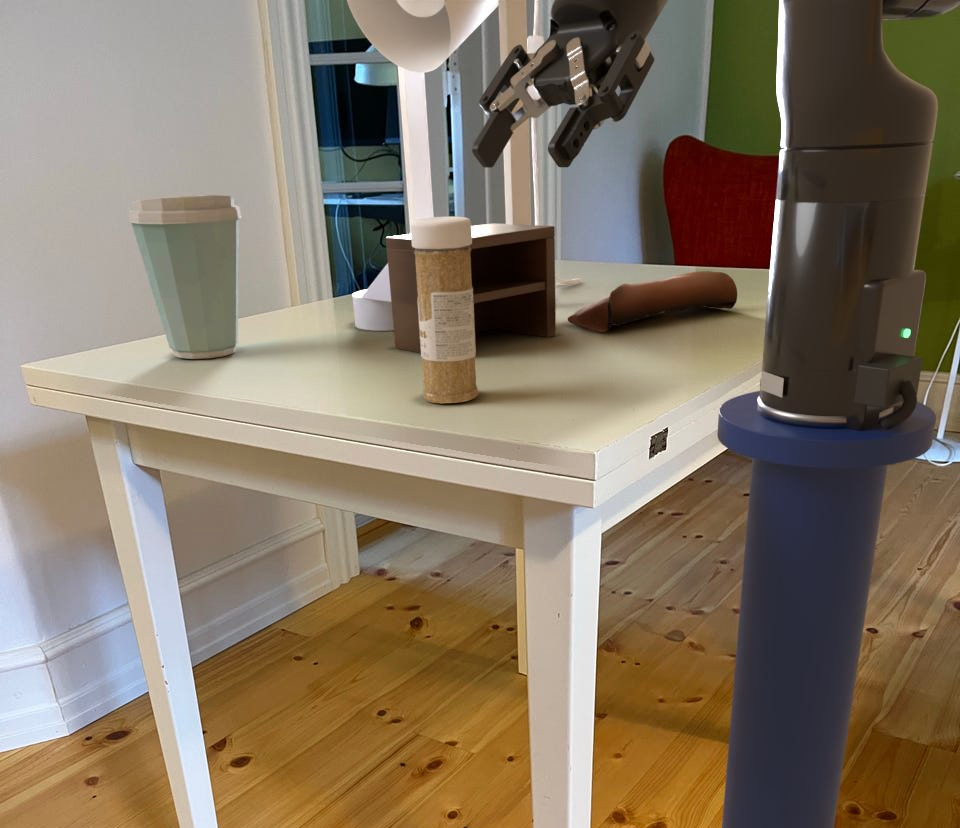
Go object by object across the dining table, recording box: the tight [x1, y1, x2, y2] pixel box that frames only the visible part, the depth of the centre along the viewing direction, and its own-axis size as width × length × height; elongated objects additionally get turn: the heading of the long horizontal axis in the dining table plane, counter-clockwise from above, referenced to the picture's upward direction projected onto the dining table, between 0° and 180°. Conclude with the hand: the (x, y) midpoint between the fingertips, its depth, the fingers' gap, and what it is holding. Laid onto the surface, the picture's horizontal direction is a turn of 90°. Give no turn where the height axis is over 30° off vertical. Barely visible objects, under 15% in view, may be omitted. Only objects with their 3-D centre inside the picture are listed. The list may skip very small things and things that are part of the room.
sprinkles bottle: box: [411, 215, 479, 404], centre depth 77 cm, size 5×5×14 cm
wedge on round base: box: [352, 262, 394, 332], centre depth 109 cm, size 9×7×13 cm
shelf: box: [385, 222, 557, 354], centre depth 98 cm, size 9×14×10 cm, turn 132°
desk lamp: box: [346, 0, 582, 286], centre depth 114 cm, size 21×32×45 cm, turn 137°
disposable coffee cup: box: [128, 194, 243, 360], centre depth 98 cm, size 11×11×15 cm
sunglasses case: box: [567, 270, 738, 334], centre depth 107 cm, size 18×7×7 cm, turn 124°
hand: (517, 160), depth 77 cm, fingers open, 8 cm apart
